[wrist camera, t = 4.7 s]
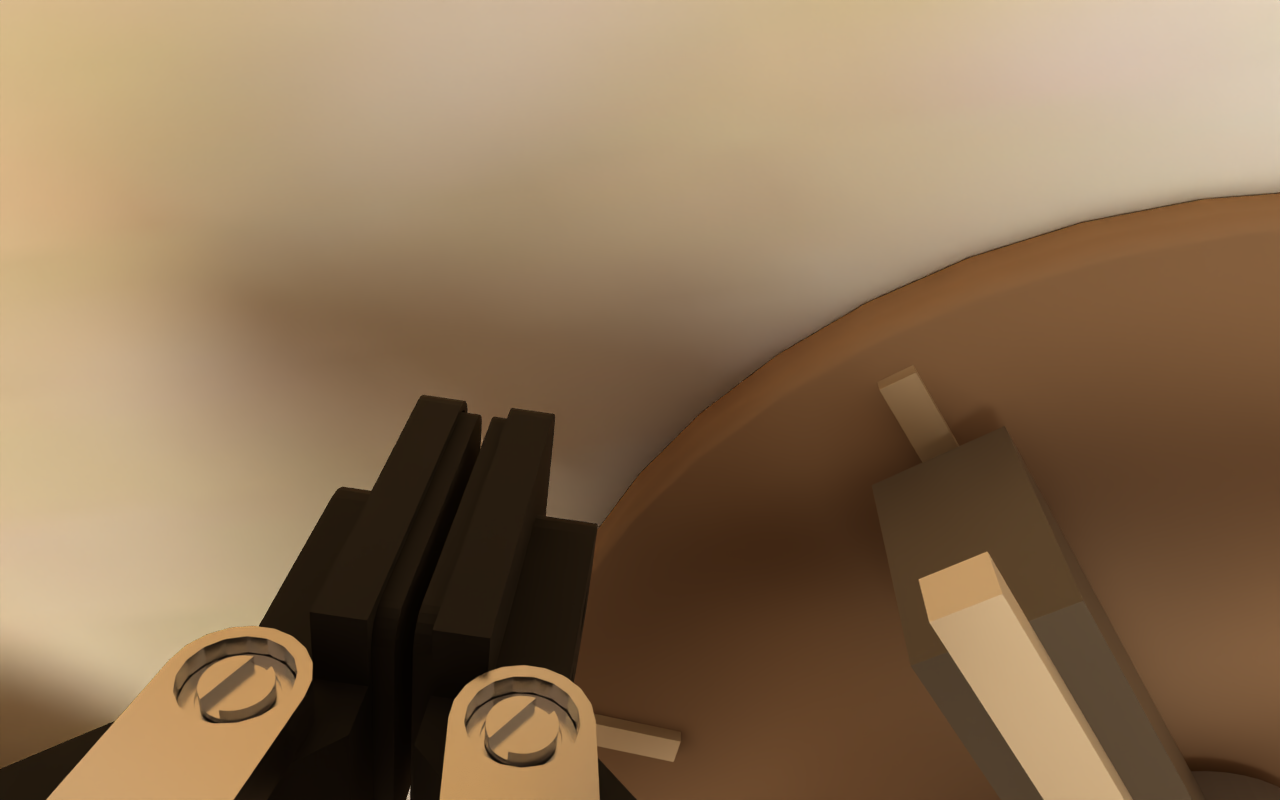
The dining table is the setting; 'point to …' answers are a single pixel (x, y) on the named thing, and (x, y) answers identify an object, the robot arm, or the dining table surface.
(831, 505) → the dial board
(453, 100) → the dining table surface
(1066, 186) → the dining table surface
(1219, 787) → the dial pointer
